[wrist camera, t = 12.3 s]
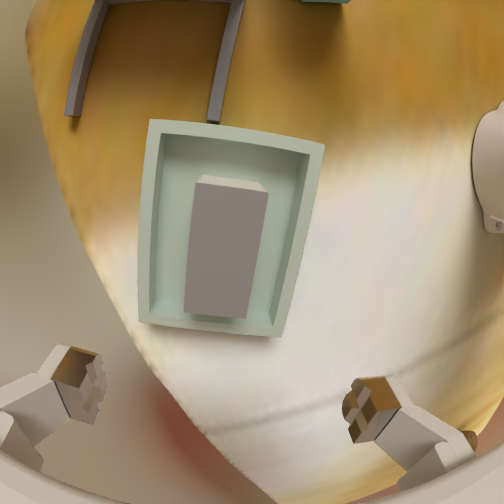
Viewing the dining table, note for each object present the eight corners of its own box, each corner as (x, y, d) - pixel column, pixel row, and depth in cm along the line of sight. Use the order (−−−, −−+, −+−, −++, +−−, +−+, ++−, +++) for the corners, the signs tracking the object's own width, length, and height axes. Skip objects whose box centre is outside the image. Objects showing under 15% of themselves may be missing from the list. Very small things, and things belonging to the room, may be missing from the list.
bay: (246, -6, 17) (259, -75, 7) (219, 122, 22) (214, 102, 12) (104, -5, 15) (59, -54, 5) (72, 116, 20) (-3, 110, 10)
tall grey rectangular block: (258, 182, 23) (268, 193, 17) (241, 282, 26) (245, 318, 20) (203, 174, 22) (195, 183, 17) (191, 276, 25) (183, 312, 20)
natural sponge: (473, 417, 49) (489, 440, 40) (459, 436, 52) (472, 457, 43) (453, 428, 48) (469, 453, 39) (438, 446, 51) (452, 470, 42)
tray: (311, 144, 23) (324, 144, 20) (275, 316, 29) (281, 337, 25) (160, 122, 21) (149, 118, 18) (147, 302, 27) (139, 321, 24)
